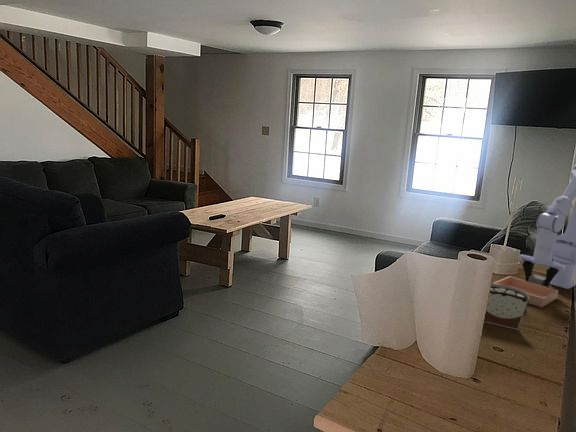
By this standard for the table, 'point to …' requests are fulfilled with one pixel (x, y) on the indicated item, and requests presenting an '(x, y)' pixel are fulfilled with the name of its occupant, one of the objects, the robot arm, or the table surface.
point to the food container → (506, 306)
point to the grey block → (537, 279)
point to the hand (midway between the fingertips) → (536, 285)
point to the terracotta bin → (531, 290)
